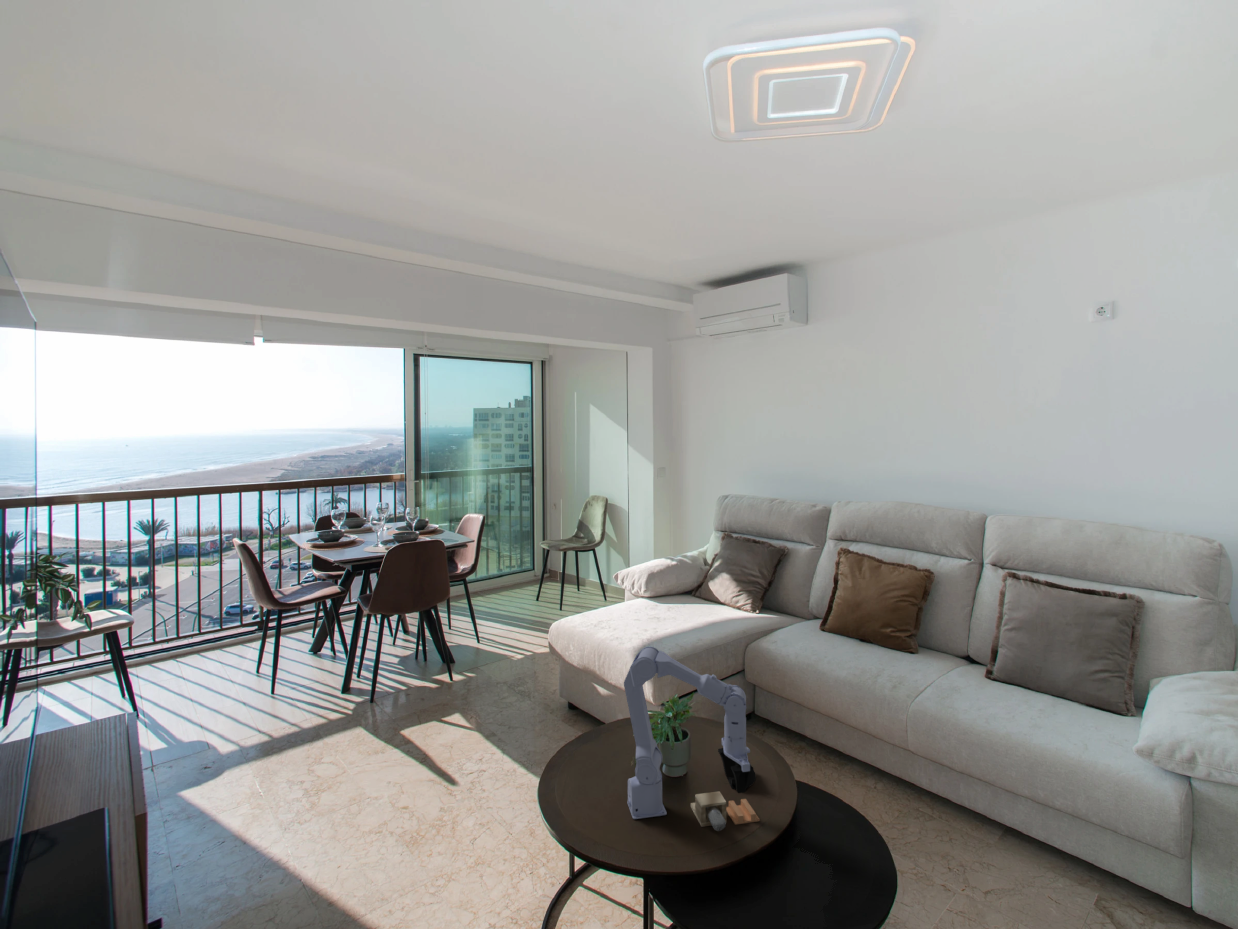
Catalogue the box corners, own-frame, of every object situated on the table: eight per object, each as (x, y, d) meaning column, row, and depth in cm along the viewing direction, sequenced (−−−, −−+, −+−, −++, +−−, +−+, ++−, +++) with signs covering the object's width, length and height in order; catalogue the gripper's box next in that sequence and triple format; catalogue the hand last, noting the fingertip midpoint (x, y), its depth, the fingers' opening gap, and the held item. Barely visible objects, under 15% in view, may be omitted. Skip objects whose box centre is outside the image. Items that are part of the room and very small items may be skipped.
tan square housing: (701, 826, 158) (701, 805, 157) (690, 806, 166) (690, 786, 166) (726, 823, 159) (726, 802, 159) (714, 803, 168) (714, 783, 168)
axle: (725, 830, 155) (725, 816, 154) (712, 831, 154) (712, 818, 154) (712, 807, 164) (712, 794, 164) (700, 808, 164) (699, 796, 164)
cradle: (734, 824, 158) (734, 816, 158) (725, 809, 165) (725, 801, 165) (759, 821, 160) (759, 813, 160) (748, 805, 166) (748, 798, 166)
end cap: (756, 789, 174) (756, 766, 174) (732, 790, 174) (732, 767, 174) (746, 771, 184) (746, 749, 184) (724, 772, 184) (723, 750, 184)
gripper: (761, 745, 153) (761, 797, 154) (738, 720, 168) (738, 768, 168) (735, 749, 152) (735, 801, 152) (714, 723, 166) (714, 771, 167)
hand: (735, 784), depth 160 cm, fingers open, 7 cm apart
